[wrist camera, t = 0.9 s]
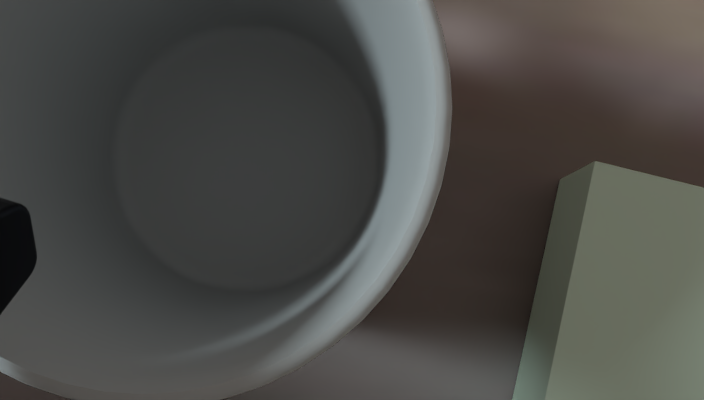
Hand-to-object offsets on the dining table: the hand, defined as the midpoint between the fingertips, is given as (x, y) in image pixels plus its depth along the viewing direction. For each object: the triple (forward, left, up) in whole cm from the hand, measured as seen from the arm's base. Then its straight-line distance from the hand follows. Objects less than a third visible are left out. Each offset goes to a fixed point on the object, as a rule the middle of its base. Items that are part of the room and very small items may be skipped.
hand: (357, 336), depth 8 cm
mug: (+5, +5, -12) cm, 14 cm away
